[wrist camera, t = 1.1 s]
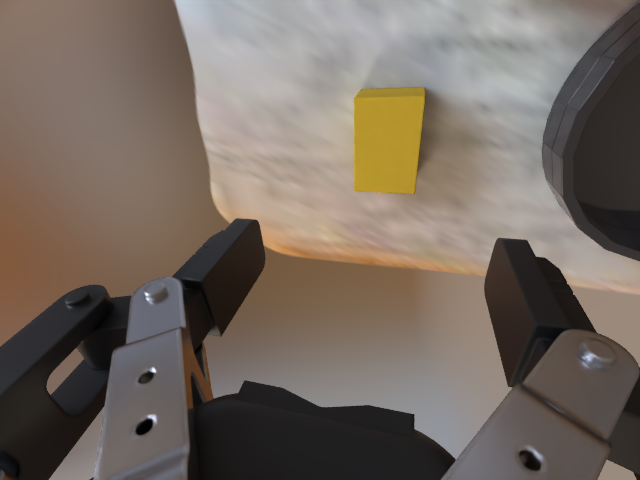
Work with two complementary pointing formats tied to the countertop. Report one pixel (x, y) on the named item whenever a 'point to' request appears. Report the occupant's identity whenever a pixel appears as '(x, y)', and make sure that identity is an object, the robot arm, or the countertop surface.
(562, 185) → the pan
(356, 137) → the sponge
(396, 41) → the countertop surface
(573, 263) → the countertop surface
